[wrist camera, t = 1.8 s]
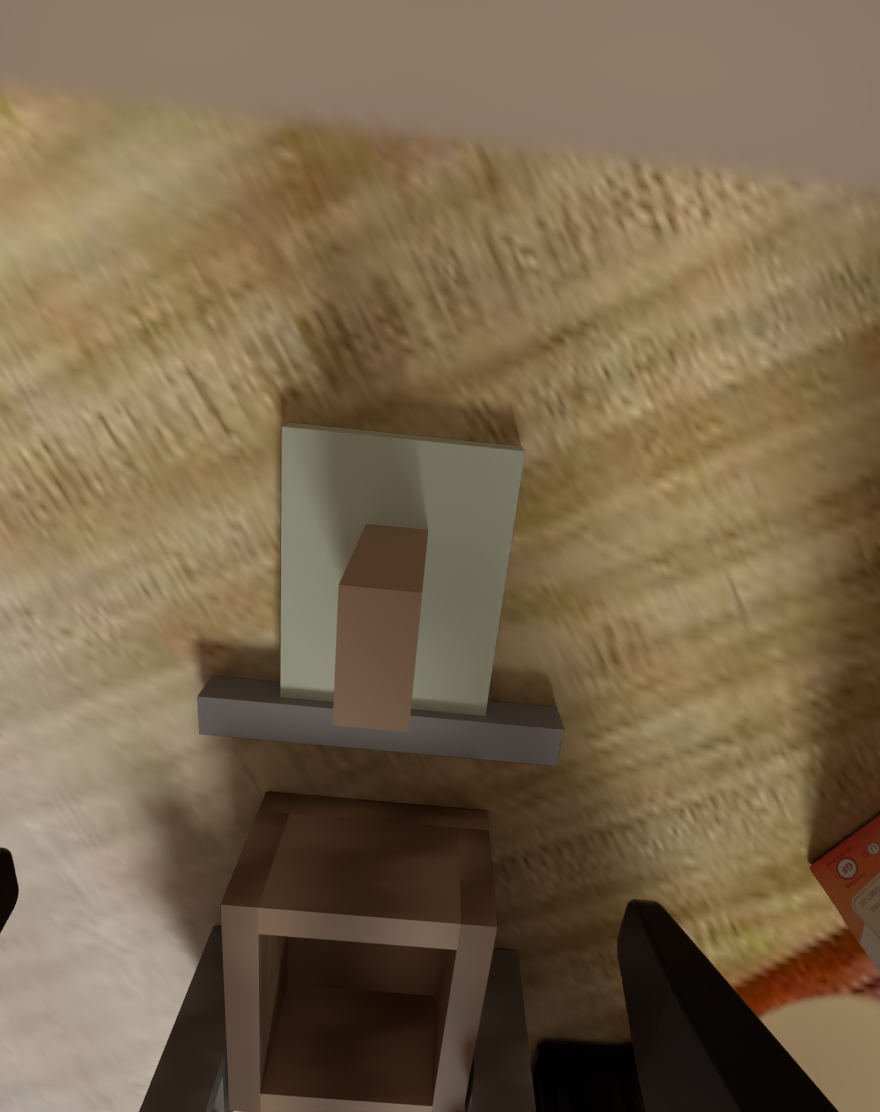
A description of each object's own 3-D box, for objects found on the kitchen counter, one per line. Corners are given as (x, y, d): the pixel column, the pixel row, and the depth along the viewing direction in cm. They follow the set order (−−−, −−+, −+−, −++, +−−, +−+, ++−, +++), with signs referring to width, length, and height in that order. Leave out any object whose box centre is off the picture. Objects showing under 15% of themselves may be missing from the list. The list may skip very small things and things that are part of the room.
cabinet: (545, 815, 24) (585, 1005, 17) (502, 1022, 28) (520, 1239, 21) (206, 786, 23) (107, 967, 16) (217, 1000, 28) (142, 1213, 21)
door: (605, 454, 19) (677, 502, 13) (548, 738, 23) (585, 874, 17) (204, 412, 18) (91, 443, 13) (216, 708, 22) (134, 836, 16)
